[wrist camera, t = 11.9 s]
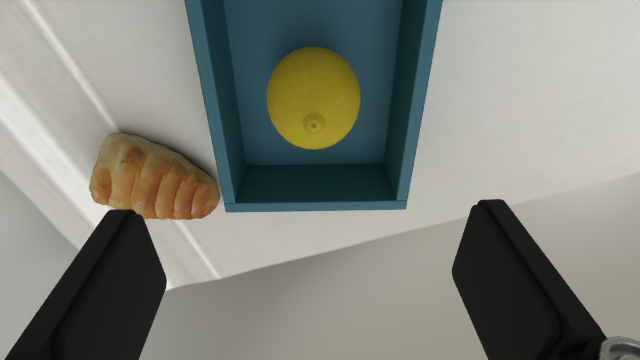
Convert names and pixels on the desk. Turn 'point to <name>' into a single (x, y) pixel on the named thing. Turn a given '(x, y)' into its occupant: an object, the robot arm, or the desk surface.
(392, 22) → the teal open bin
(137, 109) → the desk surface
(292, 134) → the lemon
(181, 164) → the pastry
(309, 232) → the desk surface
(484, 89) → the desk surface
